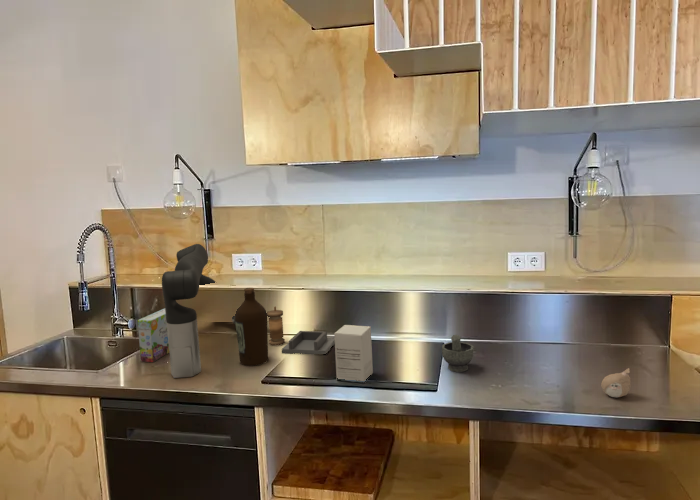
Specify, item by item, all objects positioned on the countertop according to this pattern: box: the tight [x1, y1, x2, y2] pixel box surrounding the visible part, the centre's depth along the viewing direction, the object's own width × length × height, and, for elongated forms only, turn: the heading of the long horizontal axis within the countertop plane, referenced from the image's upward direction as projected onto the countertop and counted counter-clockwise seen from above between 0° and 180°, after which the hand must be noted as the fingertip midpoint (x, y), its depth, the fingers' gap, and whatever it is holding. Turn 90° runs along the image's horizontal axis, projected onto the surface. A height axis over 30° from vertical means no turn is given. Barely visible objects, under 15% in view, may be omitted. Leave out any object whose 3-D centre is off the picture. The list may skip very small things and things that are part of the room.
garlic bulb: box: [600, 367, 632, 398], centre depth 134 cm, size 7×6×8 cm
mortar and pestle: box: [441, 334, 475, 373], centre depth 157 cm, size 11×9×12 cm
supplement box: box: [333, 324, 374, 381], centre depth 154 cm, size 9×9×15 cm
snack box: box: [137, 307, 169, 363], centre depth 185 cm, size 21×6×15 cm, turn 168°
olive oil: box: [234, 287, 269, 367], centre depth 171 cm, size 11×11×25 cm
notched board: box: [281, 330, 335, 355], centre depth 184 cm, size 16×14×4 cm
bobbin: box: [267, 306, 286, 347], centre depth 190 cm, size 6×6×14 cm
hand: (260, 320), depth 198 cm, fingers open, 8 cm apart
